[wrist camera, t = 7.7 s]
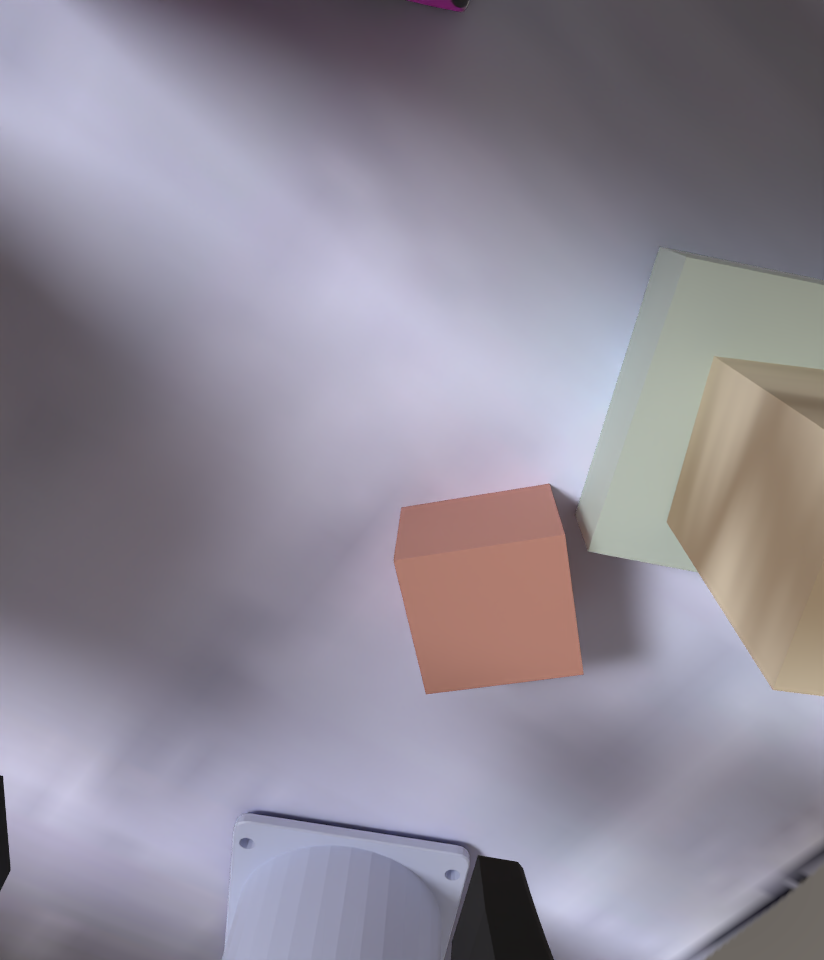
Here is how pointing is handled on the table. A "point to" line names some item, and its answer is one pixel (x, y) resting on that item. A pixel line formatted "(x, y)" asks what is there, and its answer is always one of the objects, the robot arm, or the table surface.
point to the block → (488, 590)
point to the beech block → (760, 512)
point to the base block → (684, 388)
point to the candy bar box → (445, 4)
